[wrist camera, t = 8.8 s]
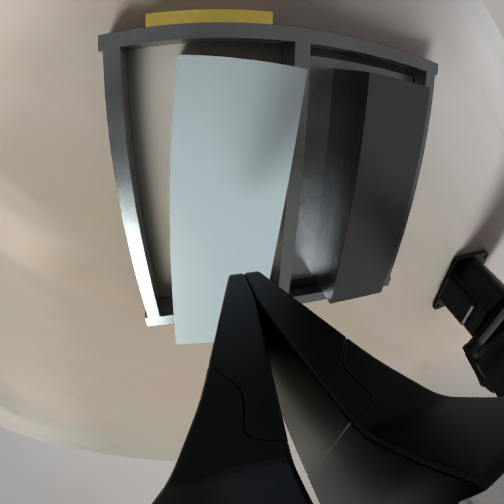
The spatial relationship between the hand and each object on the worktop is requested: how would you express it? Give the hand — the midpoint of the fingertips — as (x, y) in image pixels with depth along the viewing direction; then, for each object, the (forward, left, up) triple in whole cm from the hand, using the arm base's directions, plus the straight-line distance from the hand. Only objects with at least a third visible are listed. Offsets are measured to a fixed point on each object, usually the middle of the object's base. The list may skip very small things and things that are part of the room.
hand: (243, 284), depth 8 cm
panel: (0, 0, -8) cm, 8 cm away
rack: (-4, 0, -8) cm, 9 cm away
